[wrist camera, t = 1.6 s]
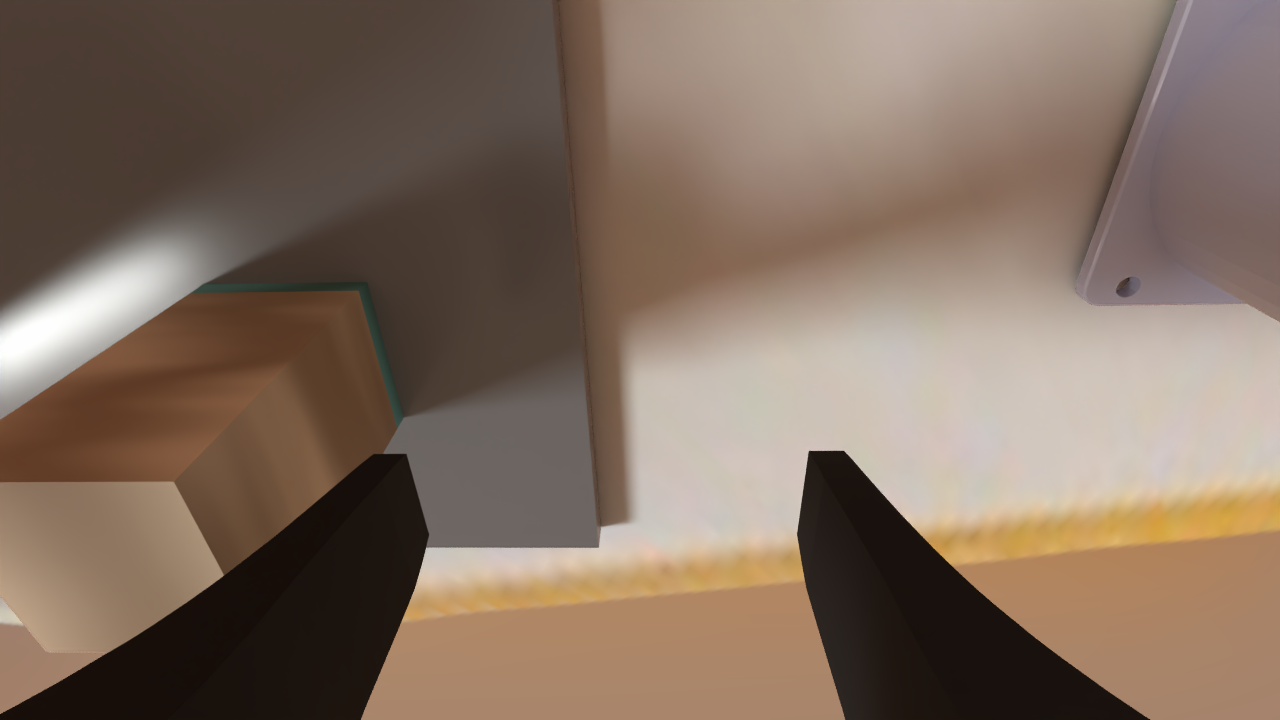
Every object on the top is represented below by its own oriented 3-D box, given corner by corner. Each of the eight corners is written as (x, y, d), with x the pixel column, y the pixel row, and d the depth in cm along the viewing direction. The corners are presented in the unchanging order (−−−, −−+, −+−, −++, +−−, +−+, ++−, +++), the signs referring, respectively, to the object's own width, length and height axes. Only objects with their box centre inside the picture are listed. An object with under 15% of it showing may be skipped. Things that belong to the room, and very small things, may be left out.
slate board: (551, -80, 12) (544, -83, 11) (600, 528, 20) (598, 547, 19) (-346, -49, 13) (-405, -50, 12) (57, 528, 21) (37, 547, 20)
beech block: (367, 282, 15) (173, 482, 9) (403, 417, 17) (266, 654, 11) (203, 284, 15) (-94, 482, 9) (259, 418, 17) (47, 652, 11)
